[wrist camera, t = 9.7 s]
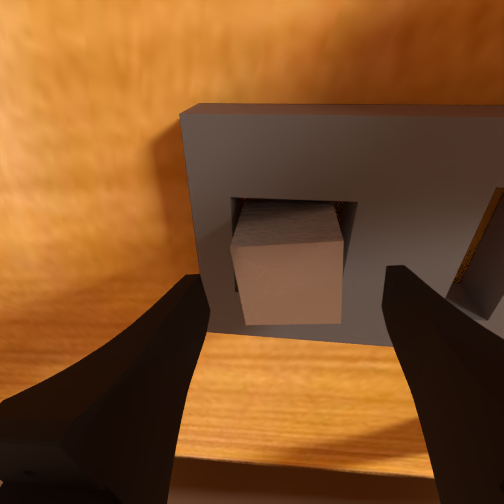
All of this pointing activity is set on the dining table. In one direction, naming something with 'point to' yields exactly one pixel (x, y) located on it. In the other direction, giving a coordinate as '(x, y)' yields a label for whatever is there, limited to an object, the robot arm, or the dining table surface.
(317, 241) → the square bit
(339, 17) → the dining table surface
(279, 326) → the socket block
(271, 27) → the dining table surface
